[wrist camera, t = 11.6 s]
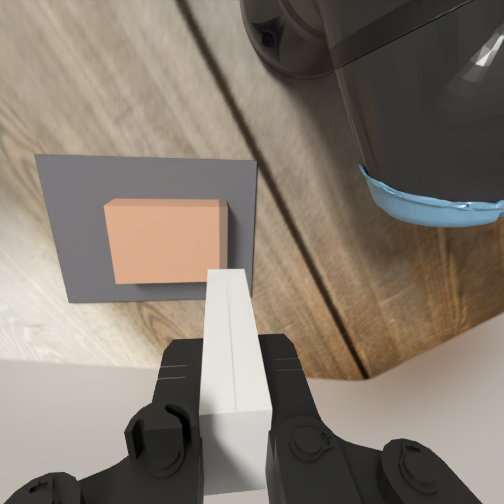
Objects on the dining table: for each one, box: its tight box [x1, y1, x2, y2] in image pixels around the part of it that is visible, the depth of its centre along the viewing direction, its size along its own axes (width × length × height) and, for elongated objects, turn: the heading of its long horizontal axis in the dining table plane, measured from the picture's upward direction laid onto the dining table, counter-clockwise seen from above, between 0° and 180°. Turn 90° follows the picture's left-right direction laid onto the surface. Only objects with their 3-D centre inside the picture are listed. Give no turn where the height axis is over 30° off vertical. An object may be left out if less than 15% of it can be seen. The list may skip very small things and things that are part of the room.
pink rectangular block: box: [104, 199, 228, 284], centre depth 37 cm, size 10×4×14 cm
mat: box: [34, 154, 257, 303], centre depth 39 cm, size 20×26×1 cm
